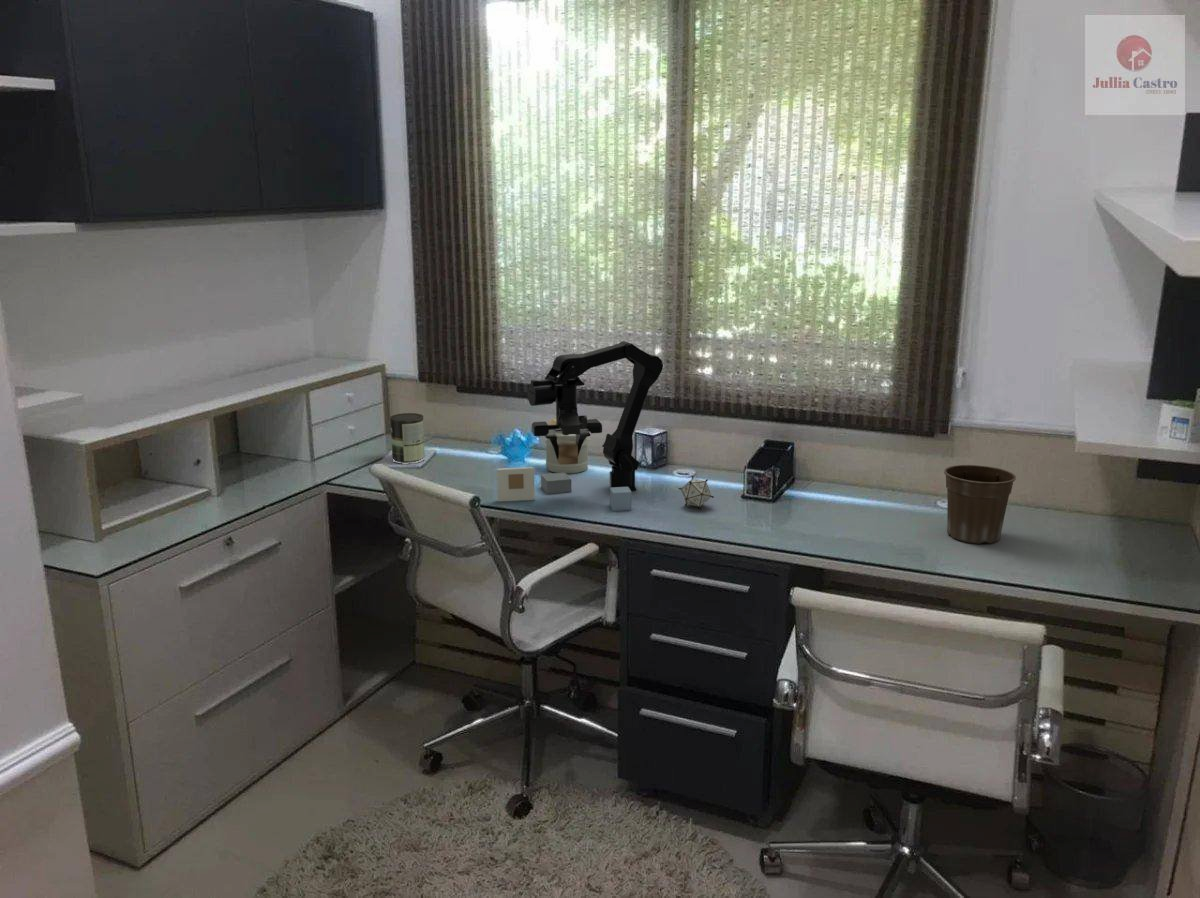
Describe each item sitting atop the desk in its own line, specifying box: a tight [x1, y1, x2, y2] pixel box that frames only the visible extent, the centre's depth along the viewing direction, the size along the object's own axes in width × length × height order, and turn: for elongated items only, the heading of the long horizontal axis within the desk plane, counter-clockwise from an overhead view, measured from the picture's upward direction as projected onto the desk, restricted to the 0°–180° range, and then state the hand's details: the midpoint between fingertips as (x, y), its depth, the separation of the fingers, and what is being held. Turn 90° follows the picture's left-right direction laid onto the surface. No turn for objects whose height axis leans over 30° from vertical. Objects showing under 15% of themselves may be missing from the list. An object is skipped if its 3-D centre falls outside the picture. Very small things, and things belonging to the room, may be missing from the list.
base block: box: [540, 472, 572, 495], centre depth 274 cm, size 7×7×4 cm
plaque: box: [496, 466, 536, 502], centre depth 264 cm, size 10×2×9 cm, turn 100°
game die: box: [678, 475, 715, 511], centre depth 258 cm, size 9×8×10 cm
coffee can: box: [389, 412, 426, 463], centre depth 303 cm, size 10×10×14 cm
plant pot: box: [943, 464, 1017, 544], centre depth 235 cm, size 16×16×16 cm
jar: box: [545, 417, 589, 475], centre depth 293 cm, size 13×13×18 cm
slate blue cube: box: [609, 486, 633, 512], centre depth 258 cm, size 5×5×5 cm
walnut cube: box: [557, 441, 578, 465], centre depth 265 cm, size 5×5×5 cm
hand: (567, 457), depth 266 cm, fingers closed on walnut cube, 5 cm apart
